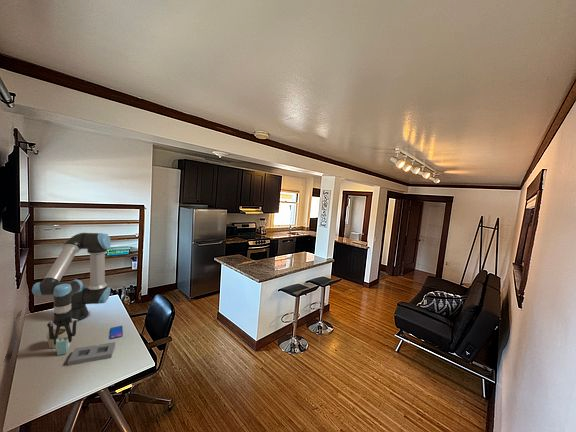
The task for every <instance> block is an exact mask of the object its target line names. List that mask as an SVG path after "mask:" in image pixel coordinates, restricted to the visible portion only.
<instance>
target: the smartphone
mask: <svg viewBox="0 0 576 432" xmlns="http://www.w3.org/2000/svg"><path fill="white" fill-rule="evenodd" d="M123 332H124V331H123V325H119V326H112V327H110V329H109V340H114V339H118V338H122V337H123V336H124V335H123V334H124V333H123Z"/></svg>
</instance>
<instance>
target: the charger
mask: <svg viewBox="0 0 576 432" xmlns="http://www.w3.org/2000/svg"><path fill="white" fill-rule="evenodd" d="M67 337H68V336H66V337H65V336H64V338H60V339H59V340H58V342H57V350H56V355H57V356H59V355H66V354H67V353H68V351H69V349H70V347H69V348H68V349H67V340H66V339H67Z"/></svg>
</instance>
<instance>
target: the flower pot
mask: <svg viewBox="0 0 576 432" xmlns="http://www.w3.org/2000/svg"><path fill="white" fill-rule="evenodd" d="M53 331H54V335H55V332H56V328H55V329H54V328H53ZM66 334H67V332H66V329H65V327H60V331H59V334H58V337H60V338H64V337H65V335H66ZM45 337H46V339H47V343H48V347H49V349H56V345H54V340H53V339H51V340H50V339H49V331H47V332H46V333H45Z"/></svg>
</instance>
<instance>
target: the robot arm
mask: <svg viewBox="0 0 576 432" xmlns="http://www.w3.org/2000/svg"><path fill="white" fill-rule="evenodd" d="M111 244H112V242H111V237H110V236H109V234H107V233H104V232H103V233H101V232H79V233H77V234H75V235H73V236H71V237H69V238H68V239H67V240H66V241H65V242H64V244H63V245H62V247H61V248H62V250H61V251H60V253H59V255H58V256H57V258H56V260H55V261H54V262H53V264H52V266H50V268H49V269H48V270H49V271H48V272H47V274H46V276H45V277H44V278H43V280H42V281H39V282H35V283H34V284H33V285H32V289H31V292H32V294H33V295H34V296H53V321H49V322H48V323H47V324H46V326H47V329H48V332H49V339H50V340H51V339H53V340H54V345H56V348H55V350H56V351H57V342H58V340H59V339H60V337H58V334H59V331H60V328H65V329H66V335H67V336H66V337H67V339H66V340H67V349H68V348H69V349H70V346H71V342H72V340H73V337H75V336H76V334H77V322H79V321H82V320H85V319H86V318H87V317H89V314H90V312H89V310H88V307H87V306H86V305H97V304H98V305H99V304H105V303H106V302H107V301H108V299H109V298H110V295H111V289H112V288H111V287H110V286H109V287H108V284H107V283H106V282H105V281H106V276H105V275H106V272H105V271H106V268H105V267H106V255H105V254H106V253H107V252H108V250H109V249H110V248H111ZM81 250H86V251H87V254H89V272H90V273H89V275H90V276H89V279H90V281H89V285H88V286H86V285H84V284H83V281H82V280H81V279H73V280H70V281H61V280H62V278H63V276H64V274H65V272H66V271H67V270H68V268H69V267H70V264H71V262H72V261H73V260H74V258H75V256H76V254H77V253H79V252H80V251H81ZM70 323H72V329H71V325H70ZM54 325H55V327H56V328H55V329H56V332H55V335H54V331H53V330H54Z"/></svg>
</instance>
